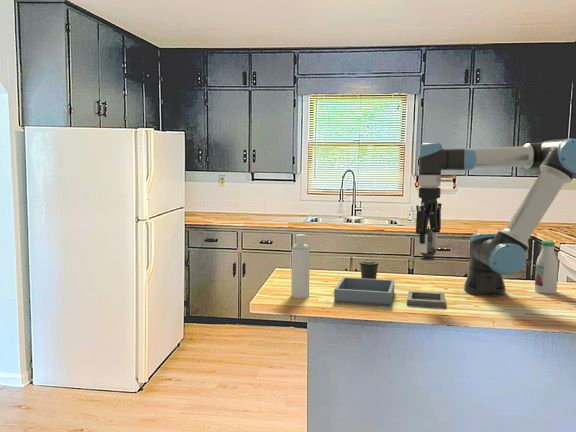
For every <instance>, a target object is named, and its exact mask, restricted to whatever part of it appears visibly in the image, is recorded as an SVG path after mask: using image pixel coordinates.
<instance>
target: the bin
mask: <svg viewBox="0 0 576 432" xmlns="http://www.w3.org/2000/svg"><path fill="white" fill-rule="evenodd" d="M333 291H334V295H333V297H334V299H333V301H334V302H333V303H334V304H345V305H347V304H348V305H359V306H371V307H372V306H374V307H388V308H392V307H391V306H392V303H393V299H394V296H395V279H377V278H376V279H365V278H362V277H345V276H344V277H343V276H342V278H341V279H340V280H339V282H338V284H337V285H336V286H335V288H334V290H333Z"/></svg>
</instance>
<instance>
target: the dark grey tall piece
mask: <svg viewBox="0 0 576 432" xmlns="http://www.w3.org/2000/svg"><path fill="white" fill-rule="evenodd" d="M432 232H433V231H432V230H431V229H430V225H428V226H427V232H426V235H428V238H427V253H421V252H420V254H421V256H422V257H420V258H419V259H420V260H421V261H431V262H432V261H436V258H434V256H435V254H436V249H434V248H433V245H432V240H433V238H432Z"/></svg>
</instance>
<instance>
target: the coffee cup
mask: <svg viewBox="0 0 576 432" xmlns="http://www.w3.org/2000/svg"><path fill="white" fill-rule="evenodd" d="M358 264H359V265H360V274H361V275H360V276H361V277H360V278H365V279H377V275H378V267H379V264H380V263H379V262H378V261H375V260H372V259H364V260H361V261H359V263H358Z"/></svg>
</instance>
